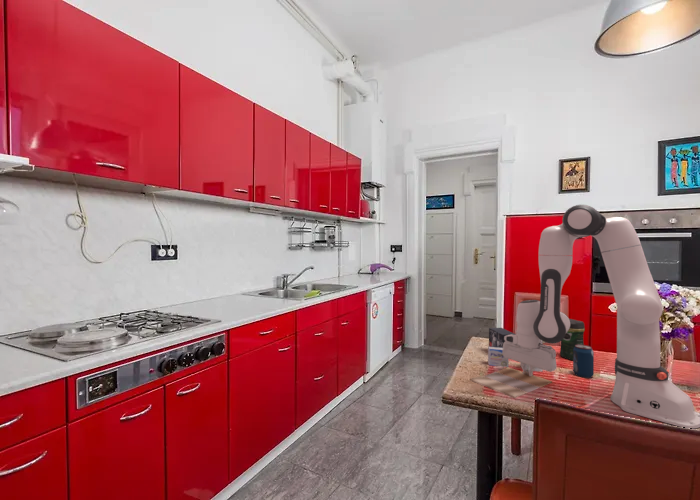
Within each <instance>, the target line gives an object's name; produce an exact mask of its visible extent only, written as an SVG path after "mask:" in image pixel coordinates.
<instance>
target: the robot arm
mask: <svg viewBox="0 0 700 500" xmlns="http://www.w3.org/2000/svg"><path fill="white" fill-rule="evenodd" d="M561 221H562V223H561V224H559V225H552V226H547V227H546V228H544V229H543V230H542V232H541V233H540V239H539V244H538V269H539V278H540V297H539V299H540V300H537V299H526V300H522V301H521V302H519V303H518V304H517V308H516V317H515V318H516V319H515V321H516V326H517V327H516V331H515V333H514V334H511V335H507V336H504V340H505V342H504V343H503V356H504V357H505V358H508V359H509V360H511V361H515V362H517V363H518V362H519V365H520V367H521V370H522V372H523V374H524V375H527V376H530V377H531V376H533V375H534V374H533V372H535V371H534V370H535V368H540V369H543V371H547V372H555V371H556V370H557V359H556V356H557V351H556V349H554V347H553V346H551V345H546V343H547V344H557V343H561V341H562V340H563V339H564V337H565V334H566V333H567V332H568V330H569V329H570V325H571V324H570V320H569V319H570V318H569V316H568V315H567V314H566V313H564V312H562V311H561V300H562V299H561V296H562V289H563V286H564V284H565V282H566V280H567V279H568V277H569V276H570V275H571V270H572V266H573V259H574V258H573V254H574V253H573V251H574V249H573V246H574V243H575V240H579V239H582V238H587V237H593V238H594V239H595V240H596V242H597V244H598V247H599V251H600V254H601V256H602V260H603V263H604V267H605V271H606V273H607V277H608V281H609V283H610V284H609V285H610V287H611V290H612V294H613V297H614V302H615V304H616V358H615V360H614V374H615V381H614V386H613V391H612V393H611V395H610V401H611V402H613V403H614V404H615V405H616V406H618V407H620V409H621V410H623V412H626V413H630V414H633V415H637V416H641V417H643V418H644V417H645V418H648V419H651V420H656V421H659V422H663V423H665V424H670V425H673V426H677V427H680V428H683V427H685V428H684V429H688V428H692V429H699V428H700V412H697V411H696V410H695V407H694V404H693V400H692V398H691V397H690V395H688V394H687V393H686V392H684V391H683V390H682V389H681V388H679V386H677V385H675V384H674V383H673V382H672V381H670V380H669V375H670V369H665V368H664V367H663V366H661V332H660V331H661V330H660V318H661V316H662V314H663V311H664V308H663V304H662V302H661V297H660V295H659V292H658V289H657V287H656V284H655V282H654V279H653V275H652V273H651V271H650V268H649V264H648V262H647V258H646V256H645V252H644V249H643V247H642V243H641V241H640V238H639V236H638V233H637V231H636V229H635V227H634V225H633V224H632V222H631V221H630V220H629V219H628V218H626V217H621V216H612V217H605V216H604V215H603V214H602V213H600V212H599V211H598V210H597V209H595V207H593V206H591V205H587V204H576V205H573V206H571V207H569V208H568V209H566V211H565V212H564V214H563V215H562V218H561ZM541 340H542V341H544V342H546V343H543V344H541ZM525 365H529V368H531V369H530V370H527V368H526V366H525Z"/></svg>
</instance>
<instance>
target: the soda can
mask: <svg viewBox="0 0 700 500" xmlns="http://www.w3.org/2000/svg"><path fill="white" fill-rule="evenodd" d="M594 355H595V352H594V350H593V348H592V346H591V345H587V344H584V345H575V347H574V349H573V360H572V372H573V373H574V374H575V375H574V376H577V377H579V378H585V379H591V378H592V377H593V376H594V373H595V372H594V371H595V370H594V366H595V365H594V363H595V362H594V357H595V356H594Z"/></svg>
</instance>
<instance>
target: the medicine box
mask: <svg viewBox="0 0 700 500" xmlns="http://www.w3.org/2000/svg"><path fill="white" fill-rule="evenodd" d="M509 360H510V359H508V358H505V357H504V356H503V348H499V347H489V346H488V347H487V363H488V366H492V367H493V366H494V367H503V368H507V367H509Z"/></svg>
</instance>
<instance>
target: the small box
mask: <svg viewBox="0 0 700 500" xmlns="http://www.w3.org/2000/svg"><path fill="white" fill-rule="evenodd" d="M511 334H515V333H514V332H512V331H509V330H507V329H505V328H503V327H489V328H488V347H499V348H503V343H504V342H505V340H504V336H507V335H511Z"/></svg>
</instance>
